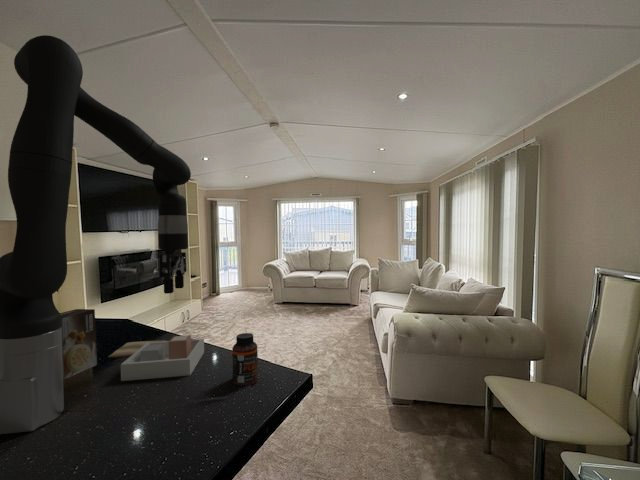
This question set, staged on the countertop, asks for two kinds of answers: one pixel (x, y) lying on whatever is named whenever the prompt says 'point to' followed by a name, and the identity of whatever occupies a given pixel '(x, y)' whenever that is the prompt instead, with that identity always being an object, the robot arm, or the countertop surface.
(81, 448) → the countertop surface
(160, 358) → the plain block
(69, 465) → the countertop surface
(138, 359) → the bin
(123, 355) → the board
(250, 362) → the supplement bottle
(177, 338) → the labelled block
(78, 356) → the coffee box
